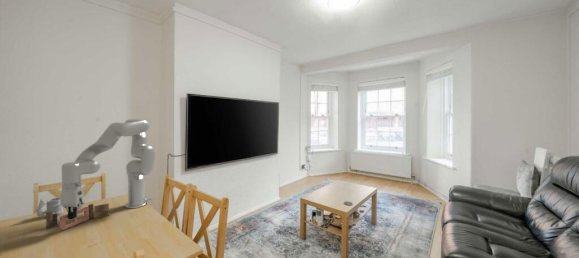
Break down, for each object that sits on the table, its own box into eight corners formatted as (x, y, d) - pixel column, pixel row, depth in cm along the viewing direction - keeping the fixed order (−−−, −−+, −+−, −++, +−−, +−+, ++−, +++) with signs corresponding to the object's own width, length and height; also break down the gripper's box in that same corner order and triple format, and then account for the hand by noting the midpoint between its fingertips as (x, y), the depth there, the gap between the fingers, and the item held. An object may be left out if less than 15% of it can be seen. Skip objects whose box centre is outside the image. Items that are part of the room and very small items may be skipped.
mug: (66, 213, 140) (66, 194, 139) (41, 221, 129) (40, 201, 128) (59, 211, 142) (58, 193, 142) (33, 219, 131) (32, 199, 130)
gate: (86, 218, 133) (86, 206, 133) (89, 218, 133) (88, 207, 132) (59, 229, 120) (59, 216, 119) (62, 230, 119) (62, 217, 119)
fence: (108, 213, 142) (108, 200, 141) (108, 215, 139) (108, 202, 139) (47, 226, 124) (46, 211, 124) (46, 229, 121) (45, 213, 121)
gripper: (90, 184, 124) (91, 216, 125) (67, 182, 126) (68, 214, 127) (76, 188, 117) (77, 222, 118) (51, 186, 118) (52, 220, 119)
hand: (72, 218), depth 122 cm, fingers closed
